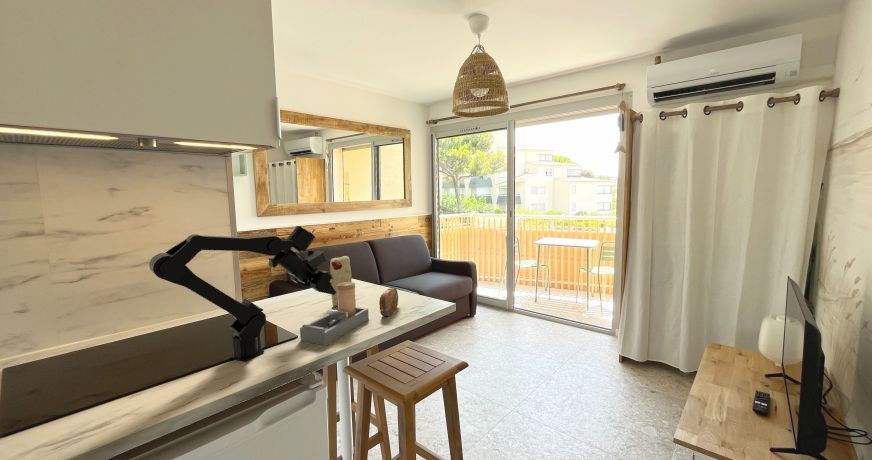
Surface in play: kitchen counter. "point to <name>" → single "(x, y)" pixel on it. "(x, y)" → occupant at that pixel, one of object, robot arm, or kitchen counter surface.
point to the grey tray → (331, 328)
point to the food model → (339, 274)
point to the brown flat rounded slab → (388, 302)
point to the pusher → (336, 317)
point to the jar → (346, 298)
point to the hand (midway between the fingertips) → (327, 291)
